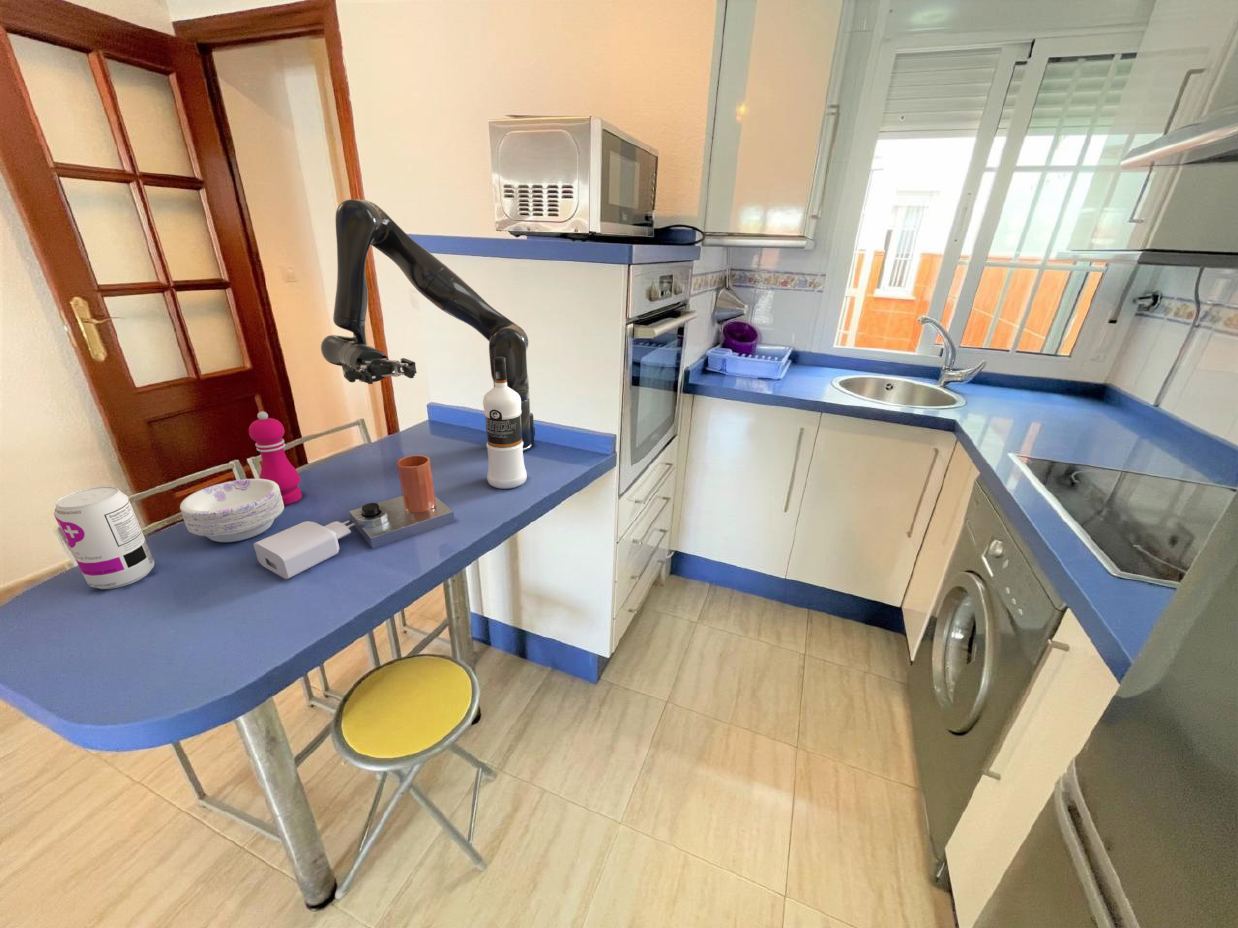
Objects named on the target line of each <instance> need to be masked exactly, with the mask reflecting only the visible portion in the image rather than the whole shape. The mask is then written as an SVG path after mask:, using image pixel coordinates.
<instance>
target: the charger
mask: <svg viewBox="0 0 1238 928" xmlns="http://www.w3.org/2000/svg"><path fill="white" fill-rule="evenodd" d="M350 522H351V520H346V521H344V522H340V521H338V520H336V521H333V522H329V523H328V524H326V525H322V524H319V523H317V522H315V521H307V520H306V521H302V522H299V523H298V524H295V525H293V526H291V527H288V528H287V529H284V530H282V531H279V532H277V533H275V534H274V533H273V534H272V535H270V536H267V537H265V538H262V539H261V540H259V541H255V542H254V543H253V544H252V545H253V548H254V549H253V550H254V551H255V556H256V558H257V561H258V562H259V564H260V565H261V566H262V567H264V569H265V568H266V569H267V570H269V571H271V572H272V573H274V574H276V575H278V576H279V577H281V578H283V579H284V580H289V579H291V578H293V577H295V576H297V575H299V574H301V573H302V572H305V571H306V570H309V569H310V568H312V567H315V566H317V565H318V564H320V563H323V562H325V561H326V560H328V559H331V558H332V557H334V556H336V555H338V554H339V552H340V545H339V540H340V539H342V538H344V537H347V536H349V535H350V534H352V531H351V529H350V528H351V527H355V526H354V525H355V523H350ZM349 523H350V524H349ZM348 524H349V525H348Z"/></svg>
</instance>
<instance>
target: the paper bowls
mask: <svg viewBox="0 0 1238 928" xmlns="http://www.w3.org/2000/svg"><path fill="white" fill-rule="evenodd" d="M284 509H285V505H284V504H283V500H282V496H281V492H280V489H279V486H278V484H277V483H275V482H274V481H271V480H266V479H260V478H244V479H243V478H242V479H236V480H229V481H225V482H221V483H217V484H213V485H209V486H207V487H205V488H202V489H199V490H197V491H195V492H193V493H191V494H190V495H188V496H187V497H185V498H184V499H183V500H182V501H181V502H180V505H179V510H180V513H181V516H182V519H183V522H184V524H185V527H186V530H187V531H188V532H189V533H191V534H192V535H196V536H199V537H206V538H207V539H210V540H211V541H213V542H218V543H233V542H240V541H245V540H248V539H251V538H253V537H256V536H258V535H259V536H260V534H263V533H264V532H266V531H268V530H269V528H271V527H272V525H273V523H274V520H275V519H276V518H278V517H279V516H280V515H282V514H283V512H284Z"/></svg>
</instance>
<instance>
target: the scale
mask: <svg viewBox="0 0 1238 928" xmlns="http://www.w3.org/2000/svg"><path fill="white" fill-rule="evenodd" d="M435 502H436V504H435V506H434V507H433V508H432V509H430V510H427V511H424V512H408V511H406V510H405V508H404V504H403V498H402V495H400V496H397V497H394V498H390V499H387V500H383V501H379V502H376V503H377V504H378V505H379V509H380V514H379V515H377V516H374V517H368V518H366V517H364V516H363V512H362V507H359V508H355V509H351V510H349V511H348V513H349V518H350V522H351V524H353V523H355V525H354V526H353V527H355V528H356V530H357V531H358V532H359V533H360V535H361V536H362V537H363V539H364V540H365V541H366V542H367V544H368V545H369V546H370V547H371V549H372V550H374V549H377V548H380V547H383V546H386V545H388V544H391V543H395V542H398V541H400V540H403V539H406V538H408V537H412V536H415V535H418V534H421V533H423V532H427V531H429V530H432V529H435V528H438V527H441V526H445V525H448V524H450V523H453V522H455V516H454V511H453V510H452V509H451V508H450V507H449V506H448V505H446V504H445V503H444V502H443V501H442V500H441V499H439V498H438V497H437V496H436V495H435Z"/></svg>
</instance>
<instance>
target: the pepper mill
mask: <svg viewBox="0 0 1238 928" xmlns="http://www.w3.org/2000/svg"><path fill="white" fill-rule="evenodd" d="M256 417H257V419H255V420H254V421H252V422H251V424H250V425H249V427H248V435H249V437H250V438H251V440H252V441H254V442H255V444H254V445H255V447H256V451H258V452H259V453H260V456H261V461H262V462H261V470H260V475H259V479H266V480H271V481H274V482H275V483H277V484H278V486H279V489H280V492H281V496H282V500H283V504H284V506H288V505H291V504H294V503H296V502H298V501H299V500H301V499H302V496H303V495H302V490H301V488H300V487H299V485H300V483H301V477H300V474H299V472H298V471H297V469H296V468H295V467H294V465H293V464H292V463H291V462H290V461H289V459H288V457H287V455H286V453H285V447H286V443H285V439H284V438H283V437H284V435H285V428H284V425H283V424H282V422H281V421H280V420H278V419H276V418H273V417H269V414H268V413H267V412H266V411H259V412H258V413H257V416H256Z"/></svg>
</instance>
